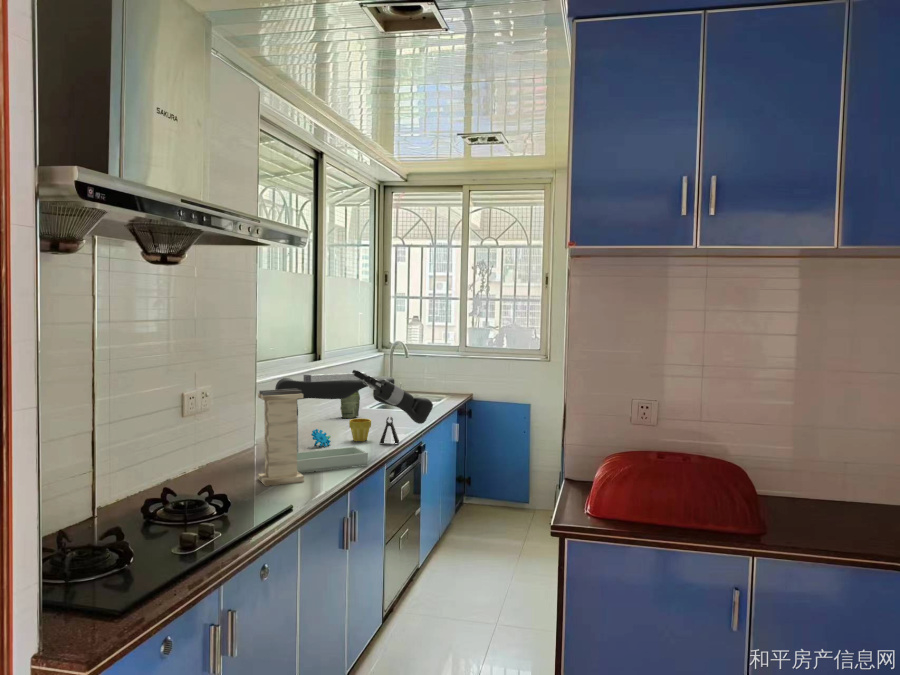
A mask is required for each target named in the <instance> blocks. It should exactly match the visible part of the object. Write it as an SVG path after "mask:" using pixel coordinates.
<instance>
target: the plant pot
mask: <svg viewBox="0 0 900 675" xmlns="http://www.w3.org/2000/svg"><path fill="white" fill-rule="evenodd" d="M348 425H349V428H350V430H351V436H352V441H353V440H354V442H357V441H362V442H366V441H367V440H368V436H369V434H370V433H369V432H370V428H371V427H372V419H370V418H350V420H349V424H348ZM365 440H366V441H365Z"/></svg>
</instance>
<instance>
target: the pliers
mask: <svg viewBox="0 0 900 675" xmlns="http://www.w3.org/2000/svg"><path fill="white" fill-rule="evenodd" d="M389 419H390V421H391V422H390V421H389ZM393 420H394V419H393V416H390V417H389V416H387V417H386V421H385V423H386V424H385V427H384V429H383V433H382V434H381V439H380V441H379V444H380V443H384V441H385V439H386V435H387V432H388V427H390V430H391V432H392V433H391V434H392V437H393V441H395V443H399V444H400V439H399V436H398V433H397V431H396V429H395V426H394V422H393Z"/></svg>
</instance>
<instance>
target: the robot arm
mask: <svg viewBox="0 0 900 675" xmlns="http://www.w3.org/2000/svg"><path fill="white" fill-rule="evenodd" d="M351 373H354V376H356V377H358V378H360V379H359V380H340V381H320V382H304V380H294V379H292V378H290V377H283V378H281V379H279V380H278V381H277V382H276V384H275V388H274V390H281V389H298V390H302V394H303V398H300V399H297V401H298V400H306V399H307V400H308V399H315V400H317V399H318V400H341V399H345V398H347V397H349V396H351V395H353V394H354V393H356V392H357V391H358V392H359V391H360V390H362V389H364V388H365V389H366V388H368V387H369V388H370V389H372V390H373V392H372V396H373V399H374V400H375V401H377V402H379V403H382V404H384V405H388V406H391V407H396V408H398V409H401V410H402V411H403V412H404V413H406V415H407V416H408V417H410V419H411V420H412V421H413V422H414V423H416V424H418V425H420V424H424V423H425V422H426V421H427V419H428V417H429V415H430V414H431V412H432V410H433V407H434V405H433V402H432V401H431V400H430V399H429V398H426V397H423V396H421V397H415V396H413V395H412V394H410V393H408V392H407V391H405V390H404V389H402V388H401V387H400V386H398V385H396V384H395V378H393V377H391V376H386V375H385V376H383V375H382V376H370V375H367V374H366V375H365V376H364V374H363V372H361V371H359V370H356V369H353V370H352V372H351ZM298 452H299V406H298V404H297V453H298Z"/></svg>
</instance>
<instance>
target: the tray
mask: <svg viewBox="0 0 900 675" xmlns="http://www.w3.org/2000/svg"><path fill="white" fill-rule="evenodd" d="M368 456H369V453H368V452H367V451H365V450H363V449H362V448H359V447H357V446H350V447H349V446H348V447H347V446H346V447H337V448H329V449H321V450H320V449H318V450H308V451H298V453H297V471H298V472H299V473H301V474H305V472H307V473H314V471H316V472H321V471H330V470H331V471H332V469H333V470H338V469H339V468H341V469H346V468H345V467H350V468H353V467H352V466H358V467H360V466H359V465H367V466H369V463H368V462H369V457H368Z"/></svg>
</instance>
